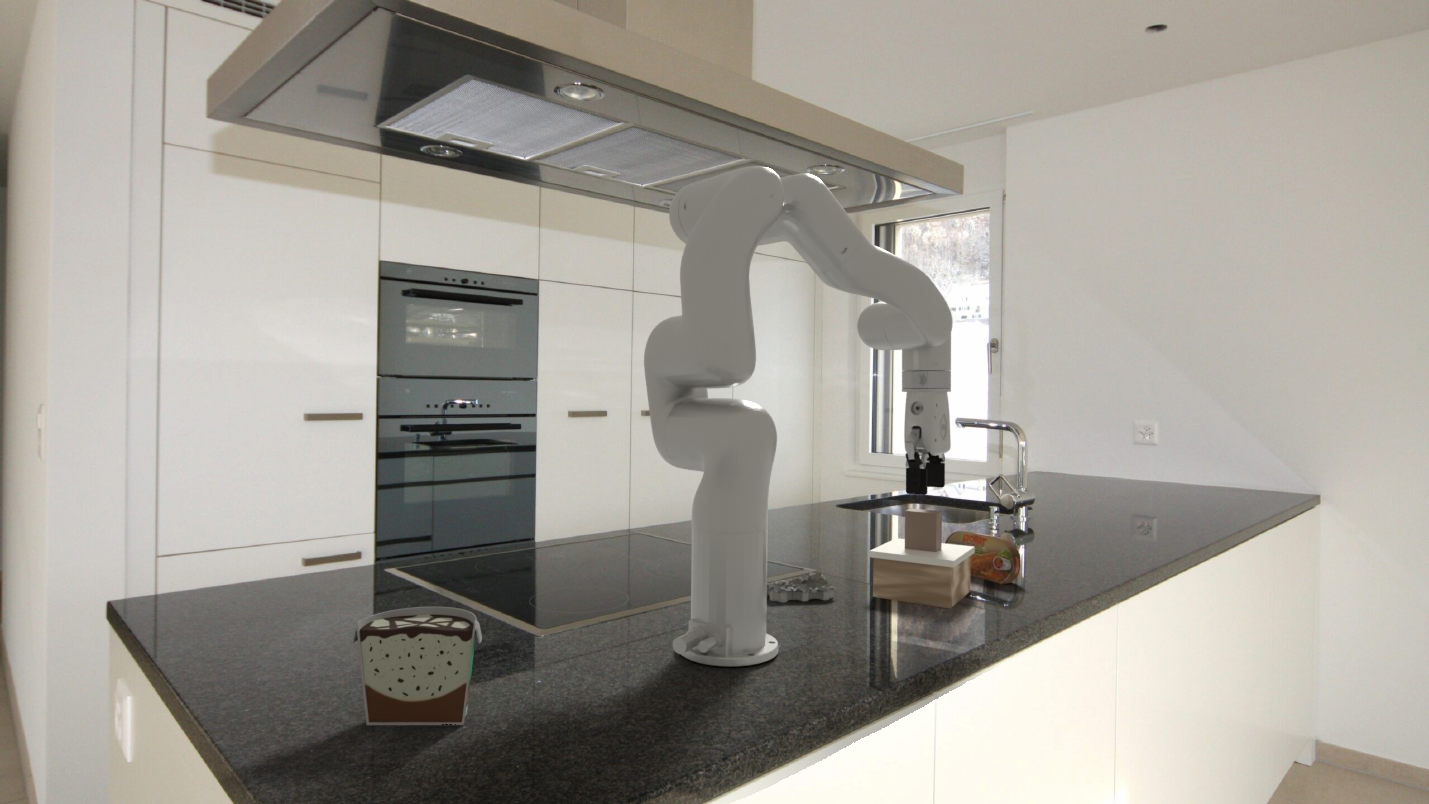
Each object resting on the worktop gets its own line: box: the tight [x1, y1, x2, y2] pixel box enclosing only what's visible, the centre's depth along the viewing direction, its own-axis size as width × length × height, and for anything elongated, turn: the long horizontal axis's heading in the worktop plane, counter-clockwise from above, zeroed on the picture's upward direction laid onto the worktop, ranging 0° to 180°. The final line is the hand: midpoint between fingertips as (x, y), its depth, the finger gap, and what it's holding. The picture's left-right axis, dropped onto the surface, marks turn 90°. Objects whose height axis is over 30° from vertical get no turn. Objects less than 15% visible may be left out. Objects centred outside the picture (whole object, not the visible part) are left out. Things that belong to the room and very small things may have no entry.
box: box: [872, 556, 971, 609], centre depth 127 cm, size 12×12×7 cm
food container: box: [350, 606, 483, 726], centre depth 81 cm, size 12×6×10 cm, turn 92°
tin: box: [944, 530, 1021, 585], centre depth 140 cm, size 15×3×8 cm, turn 31°
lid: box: [868, 508, 975, 568], centre depth 127 cm, size 13×13×7 cm
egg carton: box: [767, 570, 837, 603], centre depth 125 cm, size 11×8×4 cm
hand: (925, 490), depth 127 cm, fingers open, 9 cm apart
